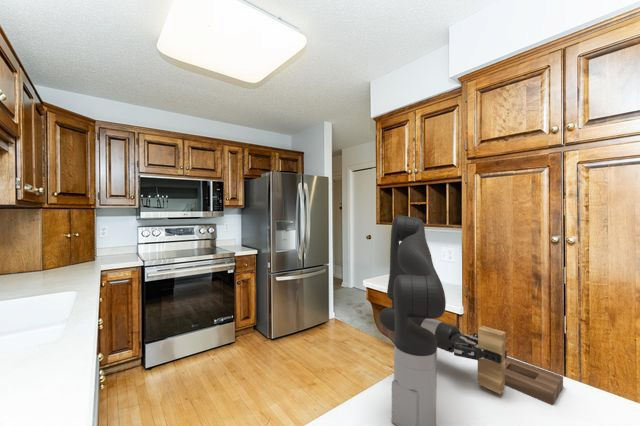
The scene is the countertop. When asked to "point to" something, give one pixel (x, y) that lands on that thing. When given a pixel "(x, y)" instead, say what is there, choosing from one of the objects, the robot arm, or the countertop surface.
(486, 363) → the plank
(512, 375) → the base board
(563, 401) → the countertop surface
